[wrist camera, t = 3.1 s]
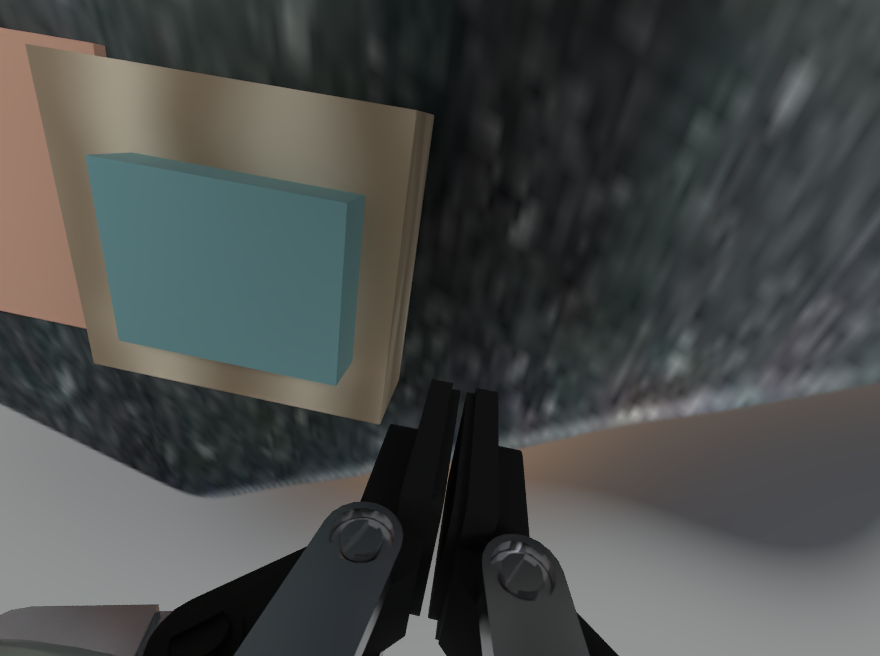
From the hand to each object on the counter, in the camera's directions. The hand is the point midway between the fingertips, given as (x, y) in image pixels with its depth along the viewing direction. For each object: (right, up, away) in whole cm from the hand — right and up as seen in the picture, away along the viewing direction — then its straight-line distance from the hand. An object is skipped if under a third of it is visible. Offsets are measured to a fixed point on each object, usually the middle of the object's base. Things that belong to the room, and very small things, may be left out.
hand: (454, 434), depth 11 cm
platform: (-8, +7, +10) cm, 15 cm away
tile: (-8, +5, +6) cm, 12 cm away
